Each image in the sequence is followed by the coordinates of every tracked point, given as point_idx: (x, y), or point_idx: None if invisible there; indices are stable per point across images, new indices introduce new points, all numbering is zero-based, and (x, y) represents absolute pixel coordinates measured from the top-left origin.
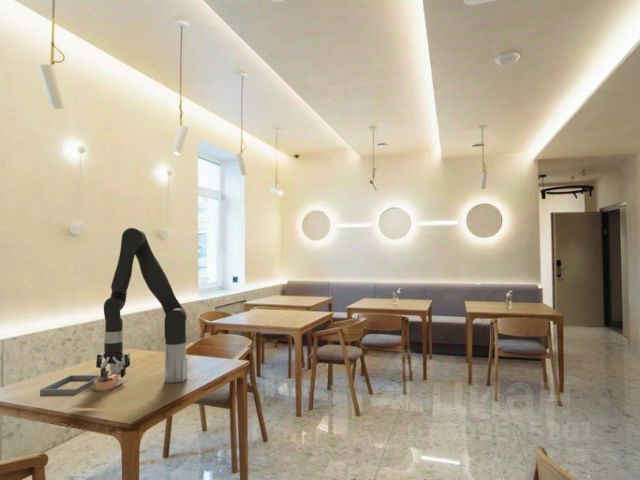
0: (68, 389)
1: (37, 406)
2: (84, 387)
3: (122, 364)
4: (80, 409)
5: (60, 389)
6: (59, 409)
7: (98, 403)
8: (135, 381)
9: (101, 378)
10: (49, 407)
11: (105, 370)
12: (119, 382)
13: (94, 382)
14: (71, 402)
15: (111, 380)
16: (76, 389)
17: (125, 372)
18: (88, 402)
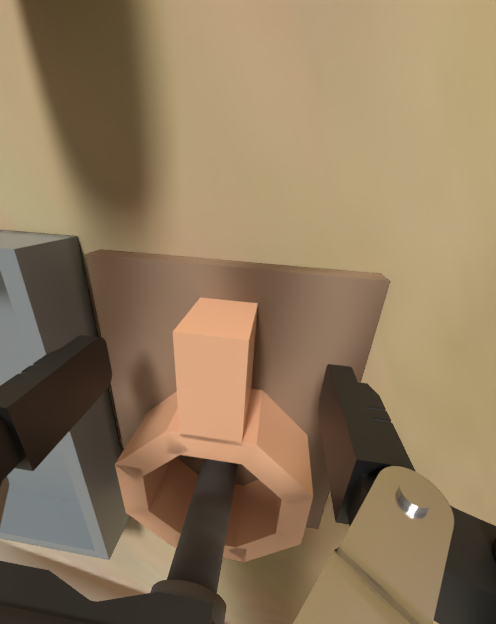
0: (63, 550)
1: (61, 560)
2: (103, 484)
3: (372, 578)
4: (255, 615)
5: (17, 541)
6: None
7: (301, 591)
8: (445, 251)
9: (143, 463)
10: (116, 577)
11: (46, 392)
12: (296, 357)
13: (149, 523)
14: (166, 558)
15: (278, 526)
16: (109, 555)
17: (387, 415)
18: (246, 573)
